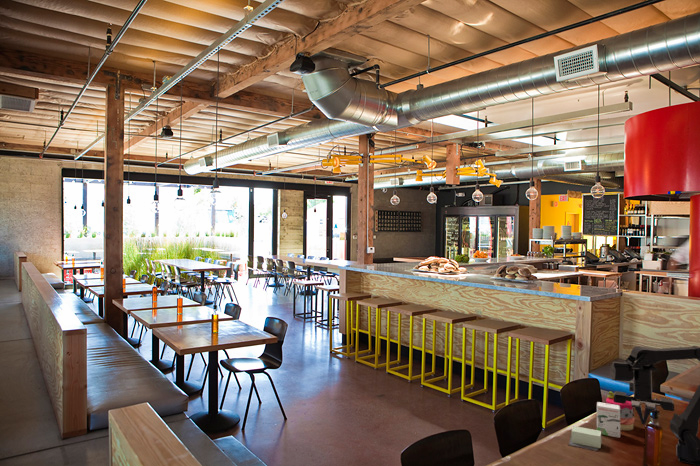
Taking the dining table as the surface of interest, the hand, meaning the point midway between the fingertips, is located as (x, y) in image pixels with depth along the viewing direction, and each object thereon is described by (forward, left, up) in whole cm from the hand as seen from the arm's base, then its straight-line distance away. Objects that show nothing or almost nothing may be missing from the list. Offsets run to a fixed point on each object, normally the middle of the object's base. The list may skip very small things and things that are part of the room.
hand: (643, 424), depth 169 cm
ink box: (+12, -17, -12) cm, 24 cm away
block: (+14, -2, -10) cm, 17 cm away
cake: (+8, -29, -12) cm, 32 cm away
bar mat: (+20, -2, -12) cm, 23 cm away
